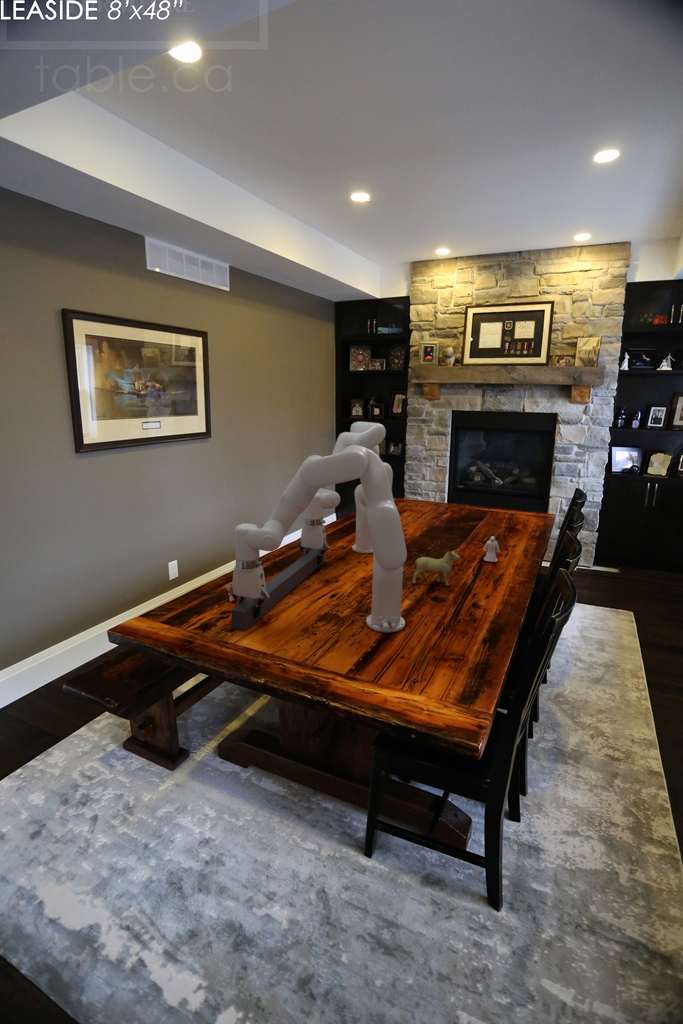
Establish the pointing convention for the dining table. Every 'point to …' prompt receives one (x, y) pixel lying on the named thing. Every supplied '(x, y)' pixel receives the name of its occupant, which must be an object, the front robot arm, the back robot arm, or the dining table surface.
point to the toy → (435, 566)
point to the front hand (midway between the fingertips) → (249, 614)
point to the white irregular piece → (229, 594)
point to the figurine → (491, 550)
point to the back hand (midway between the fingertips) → (313, 562)
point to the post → (276, 589)
